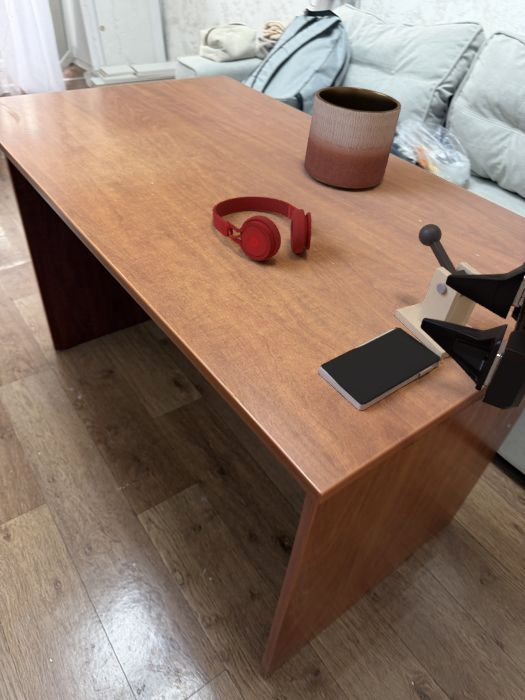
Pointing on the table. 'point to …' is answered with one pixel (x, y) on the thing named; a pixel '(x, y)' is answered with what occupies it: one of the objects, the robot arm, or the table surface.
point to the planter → (351, 136)
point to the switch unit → (438, 307)
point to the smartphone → (378, 367)
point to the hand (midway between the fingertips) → (435, 299)
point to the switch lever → (437, 247)
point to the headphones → (263, 226)
